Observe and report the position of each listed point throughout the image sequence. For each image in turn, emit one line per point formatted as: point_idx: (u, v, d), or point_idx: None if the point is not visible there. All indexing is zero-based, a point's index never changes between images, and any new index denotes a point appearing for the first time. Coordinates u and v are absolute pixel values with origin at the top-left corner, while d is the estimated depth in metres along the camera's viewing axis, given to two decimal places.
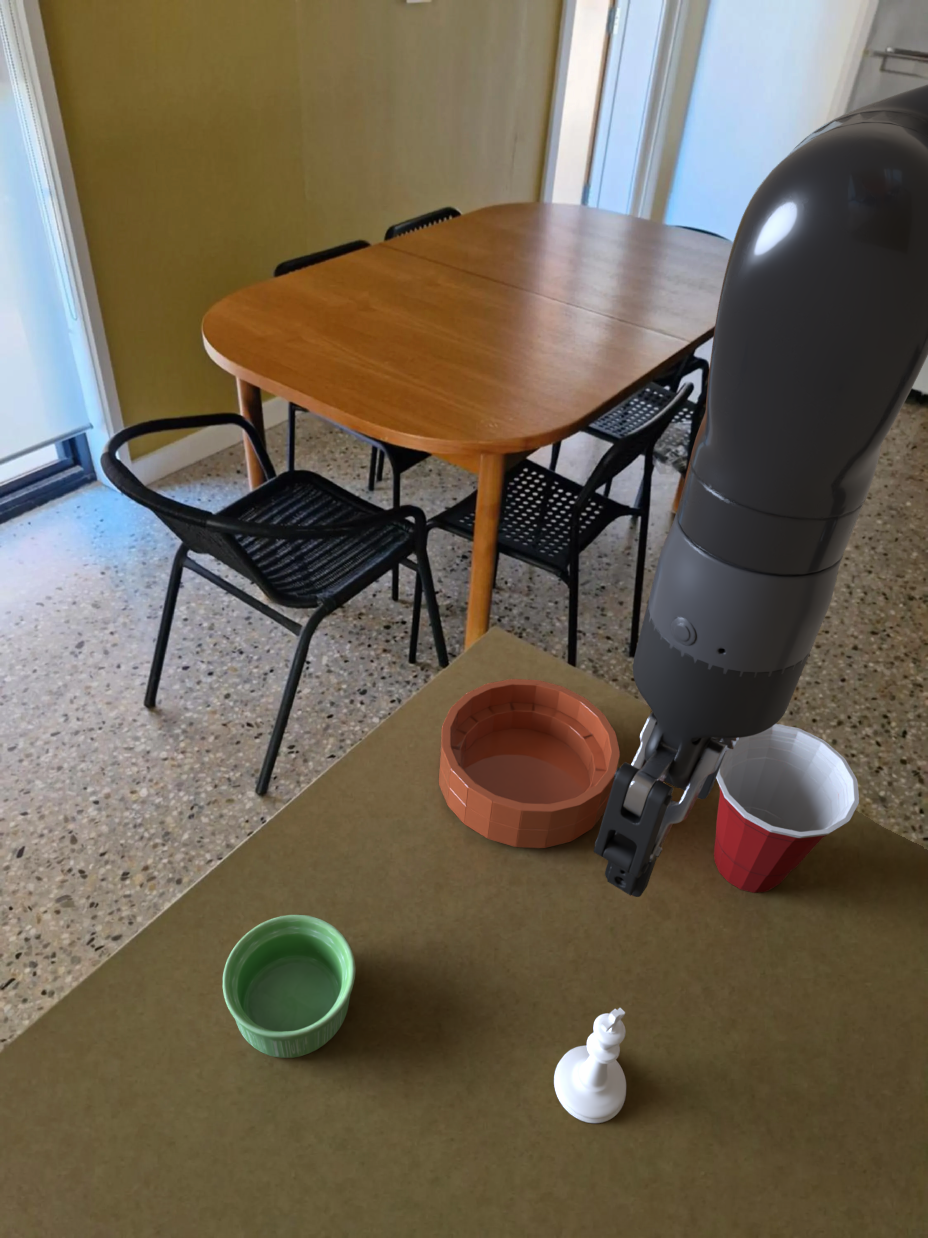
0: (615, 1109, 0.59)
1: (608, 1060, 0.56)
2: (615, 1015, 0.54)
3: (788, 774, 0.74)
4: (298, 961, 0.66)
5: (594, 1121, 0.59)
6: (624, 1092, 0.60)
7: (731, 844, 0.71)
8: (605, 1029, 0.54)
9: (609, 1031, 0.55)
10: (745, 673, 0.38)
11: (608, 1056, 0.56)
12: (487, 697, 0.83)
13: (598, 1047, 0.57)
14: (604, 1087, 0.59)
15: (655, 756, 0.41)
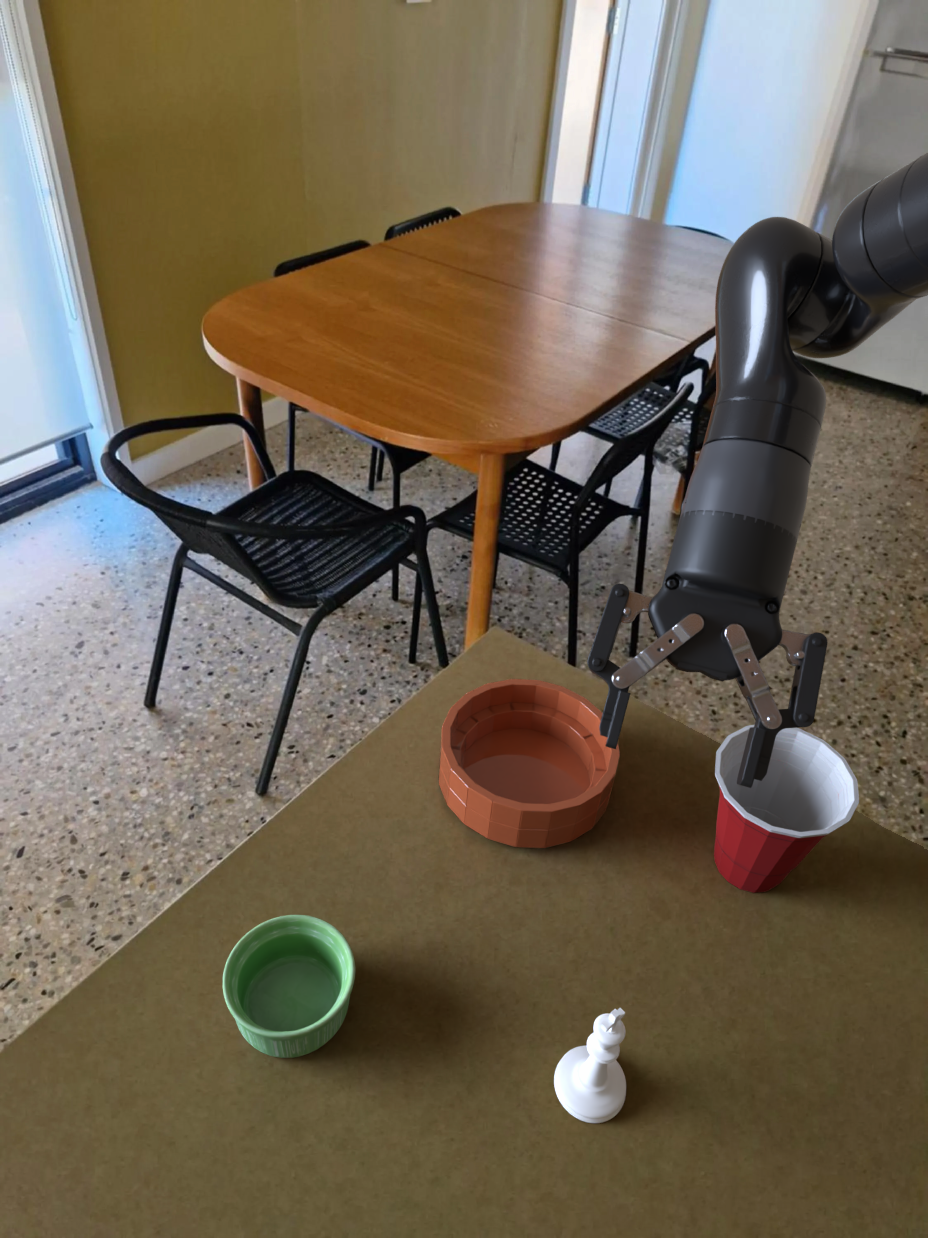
0: (615, 1109, 0.59)
1: (608, 1060, 0.56)
2: (615, 1015, 0.54)
3: (788, 774, 0.74)
4: (298, 961, 0.66)
5: (594, 1121, 0.59)
6: (624, 1092, 0.60)
7: (731, 844, 0.71)
8: (605, 1029, 0.54)
9: (609, 1031, 0.55)
10: (691, 512, 0.56)
11: (608, 1056, 0.56)
12: (487, 697, 0.83)
13: (598, 1047, 0.57)
14: (604, 1087, 0.59)
15: None
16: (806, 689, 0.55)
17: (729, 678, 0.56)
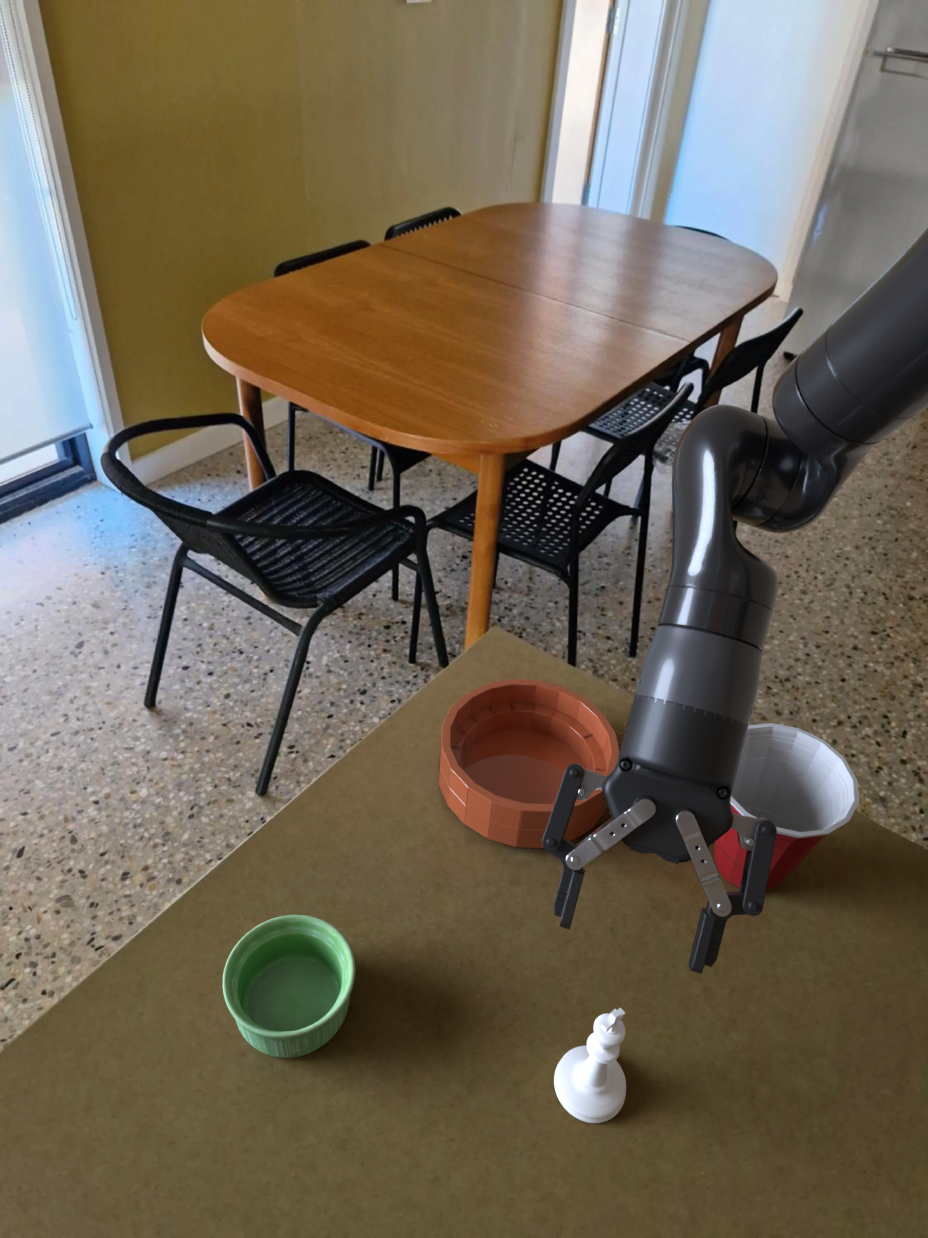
0: (615, 1109, 0.59)
1: (608, 1060, 0.56)
2: (615, 1015, 0.54)
3: (788, 774, 0.74)
4: (298, 961, 0.66)
5: (594, 1121, 0.59)
6: (624, 1092, 0.60)
7: (731, 844, 0.71)
8: (605, 1029, 0.54)
9: (609, 1031, 0.55)
10: (644, 697, 0.57)
11: (608, 1056, 0.56)
12: (487, 697, 0.83)
13: (598, 1047, 0.57)
14: (604, 1087, 0.59)
15: (601, 774, 0.59)
16: (755, 877, 0.55)
17: (681, 862, 0.57)
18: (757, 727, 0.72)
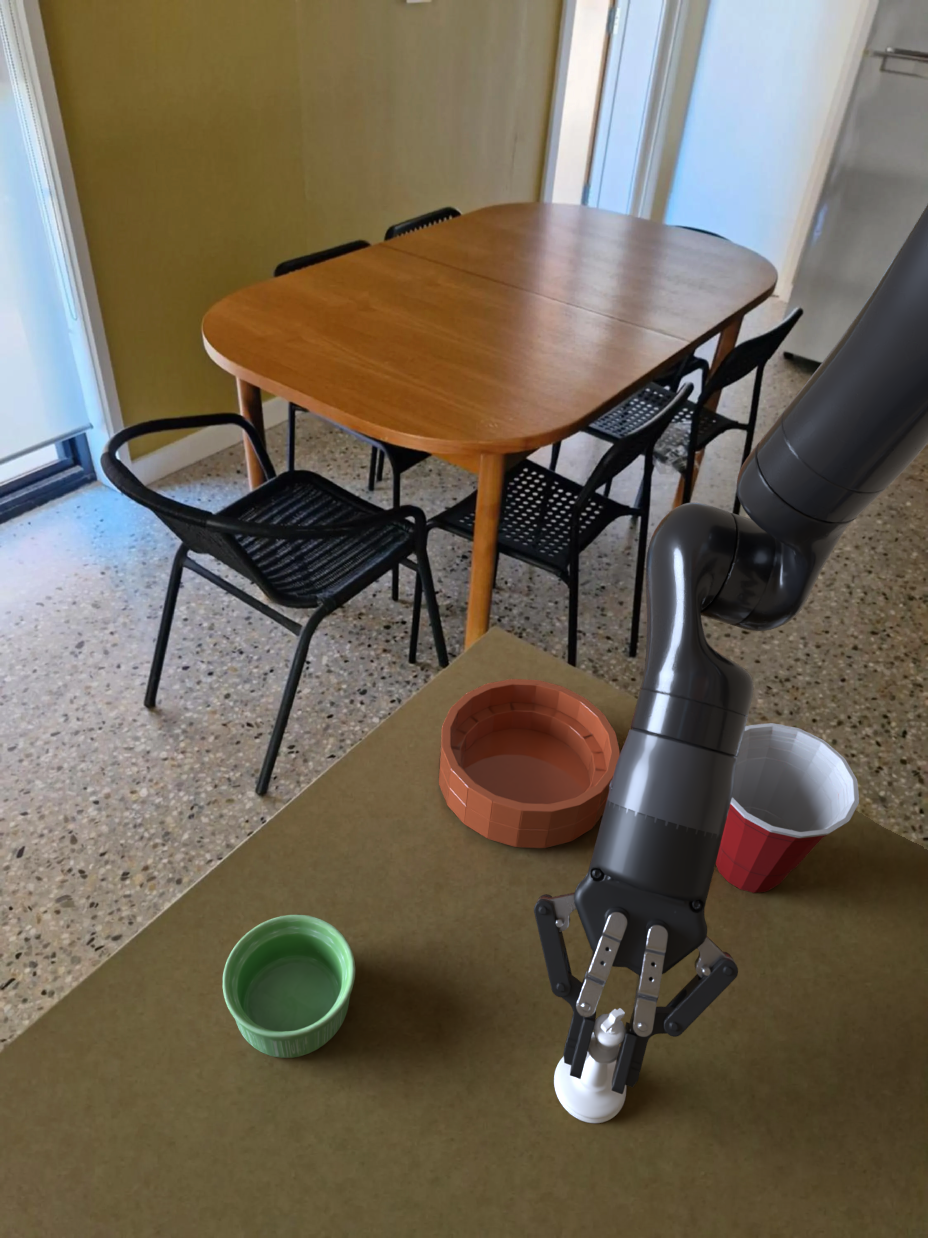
0: (615, 1109, 0.59)
1: (608, 1060, 0.56)
2: (615, 1015, 0.54)
3: (788, 774, 0.74)
4: (298, 961, 0.66)
5: (594, 1121, 0.59)
6: (624, 1092, 0.60)
7: (731, 844, 0.71)
8: (605, 1029, 0.54)
9: (609, 1031, 0.55)
10: (615, 805, 0.56)
11: (608, 1056, 0.56)
12: (487, 697, 0.83)
13: (598, 1047, 0.57)
14: (604, 1087, 0.59)
15: (568, 894, 0.58)
16: (691, 1004, 0.54)
17: None
18: (757, 727, 0.72)
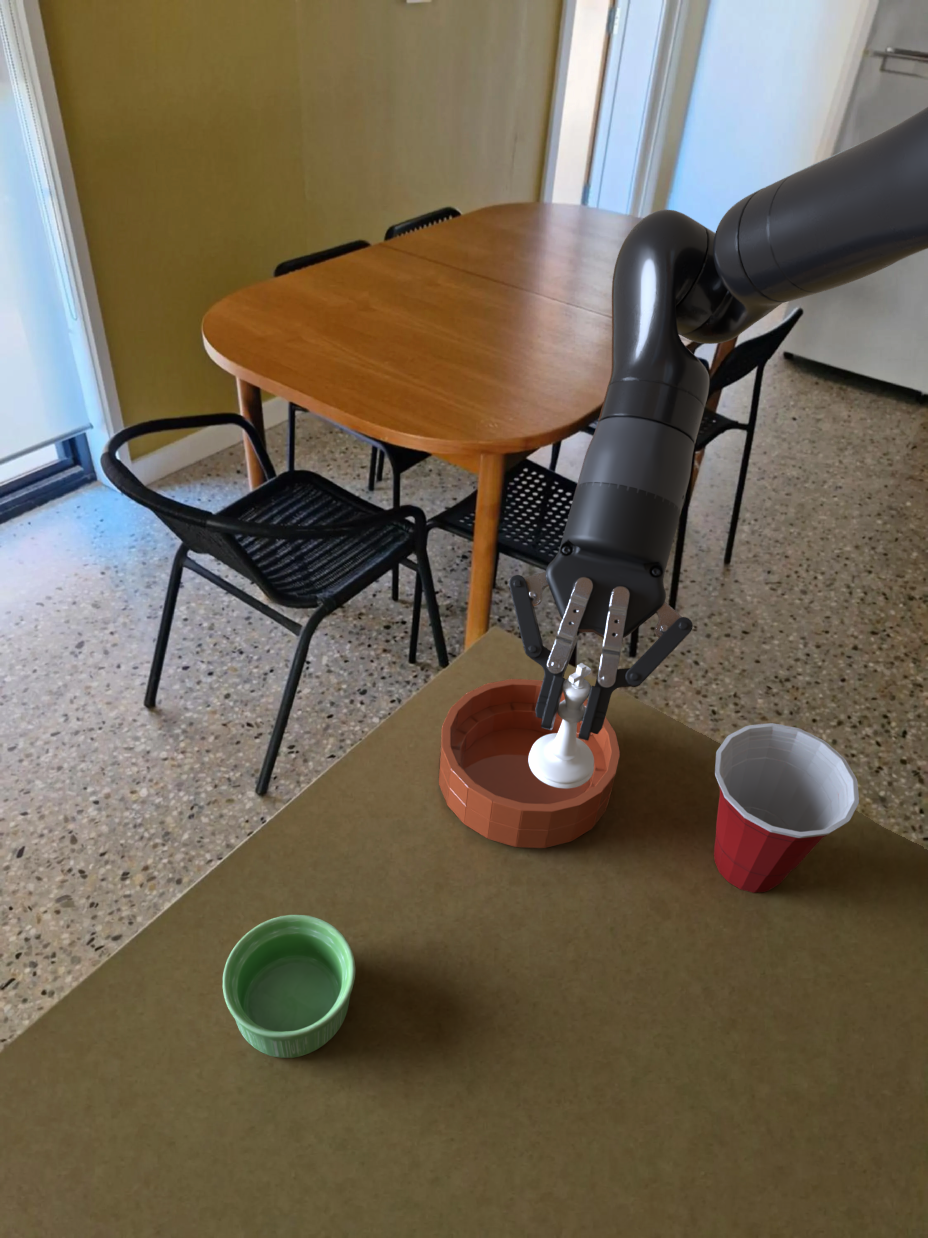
0: (583, 776, 0.65)
1: (576, 719, 0.62)
2: (581, 666, 0.60)
3: (788, 774, 0.74)
4: (298, 961, 0.66)
5: (564, 786, 0.65)
6: (592, 765, 0.66)
7: (731, 844, 0.71)
8: (572, 680, 0.60)
9: (576, 686, 0.61)
10: (583, 484, 0.61)
11: (576, 715, 0.62)
12: (487, 697, 0.83)
13: (567, 708, 0.62)
14: (573, 757, 0.65)
15: None
16: (650, 656, 0.60)
17: None
18: (757, 727, 0.72)
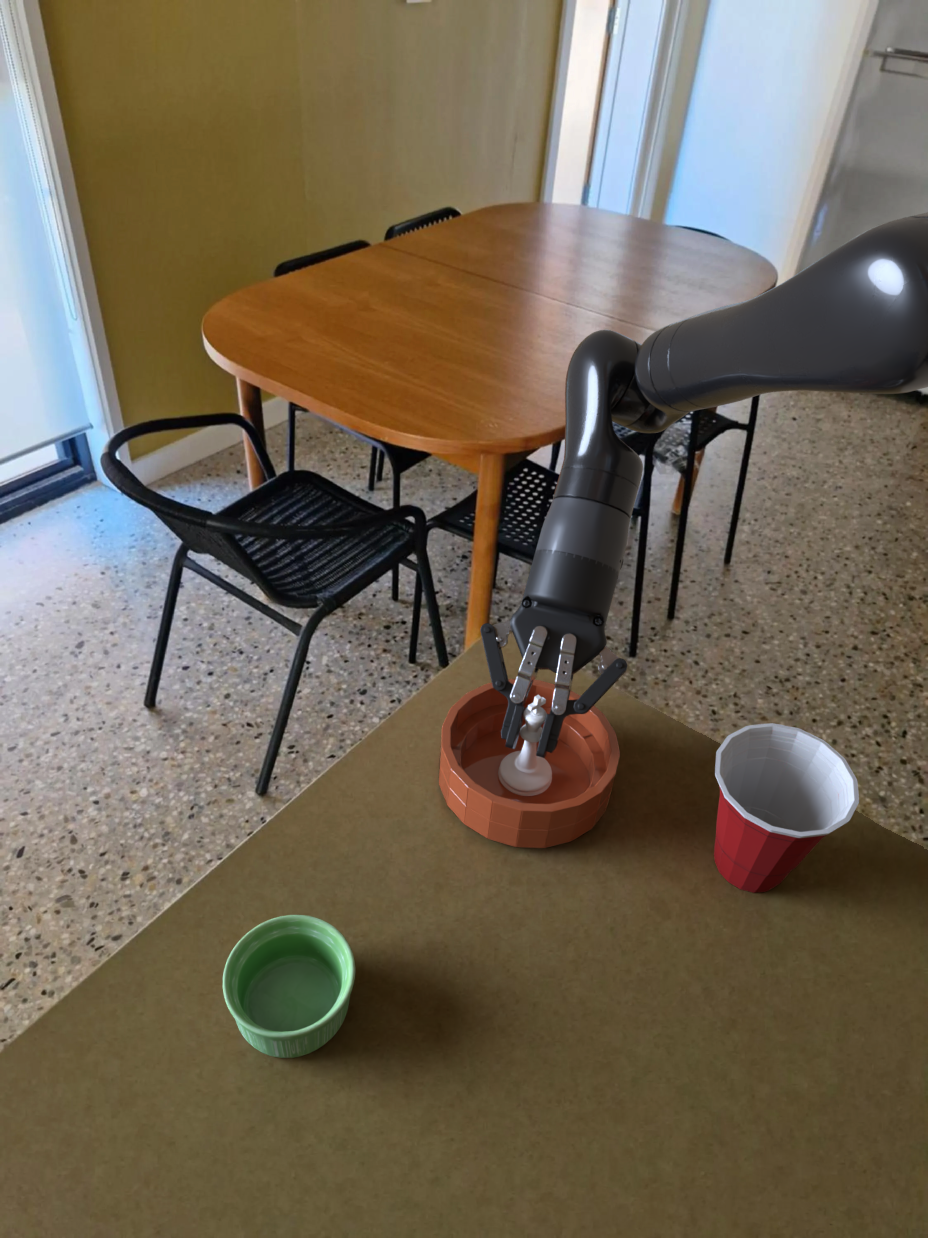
0: (542, 786, 0.79)
1: (534, 739, 0.77)
2: (538, 698, 0.75)
3: (788, 774, 0.74)
4: (298, 961, 0.66)
5: (526, 794, 0.79)
6: (550, 777, 0.80)
7: (731, 844, 0.71)
8: (530, 708, 0.75)
9: (534, 713, 0.76)
10: (539, 550, 0.76)
11: (535, 737, 0.77)
12: (487, 697, 0.83)
13: (527, 731, 0.77)
14: (534, 770, 0.79)
15: None
16: (593, 690, 0.75)
17: None
18: (757, 727, 0.72)
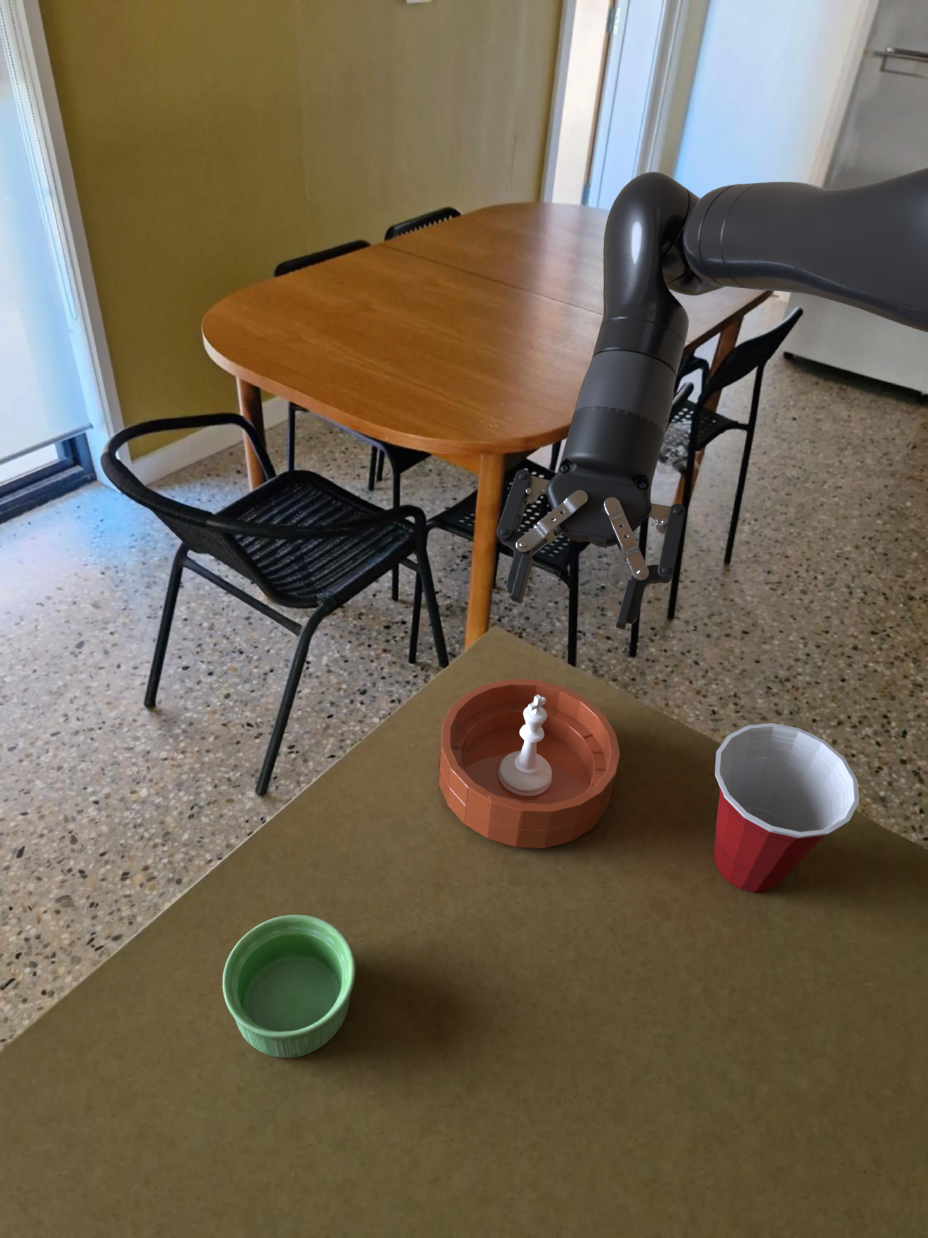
0: (542, 786, 0.79)
1: (535, 739, 0.77)
2: (538, 697, 0.75)
3: (788, 774, 0.74)
4: (298, 961, 0.66)
5: (526, 794, 0.79)
6: (550, 777, 0.80)
7: (731, 844, 0.71)
8: (530, 708, 0.75)
9: (534, 713, 0.76)
10: (578, 410, 0.70)
11: (535, 737, 0.77)
12: (487, 697, 0.83)
13: (527, 731, 0.77)
14: (534, 770, 0.79)
15: None
16: (668, 548, 0.68)
17: (609, 542, 0.70)
18: (757, 727, 0.72)
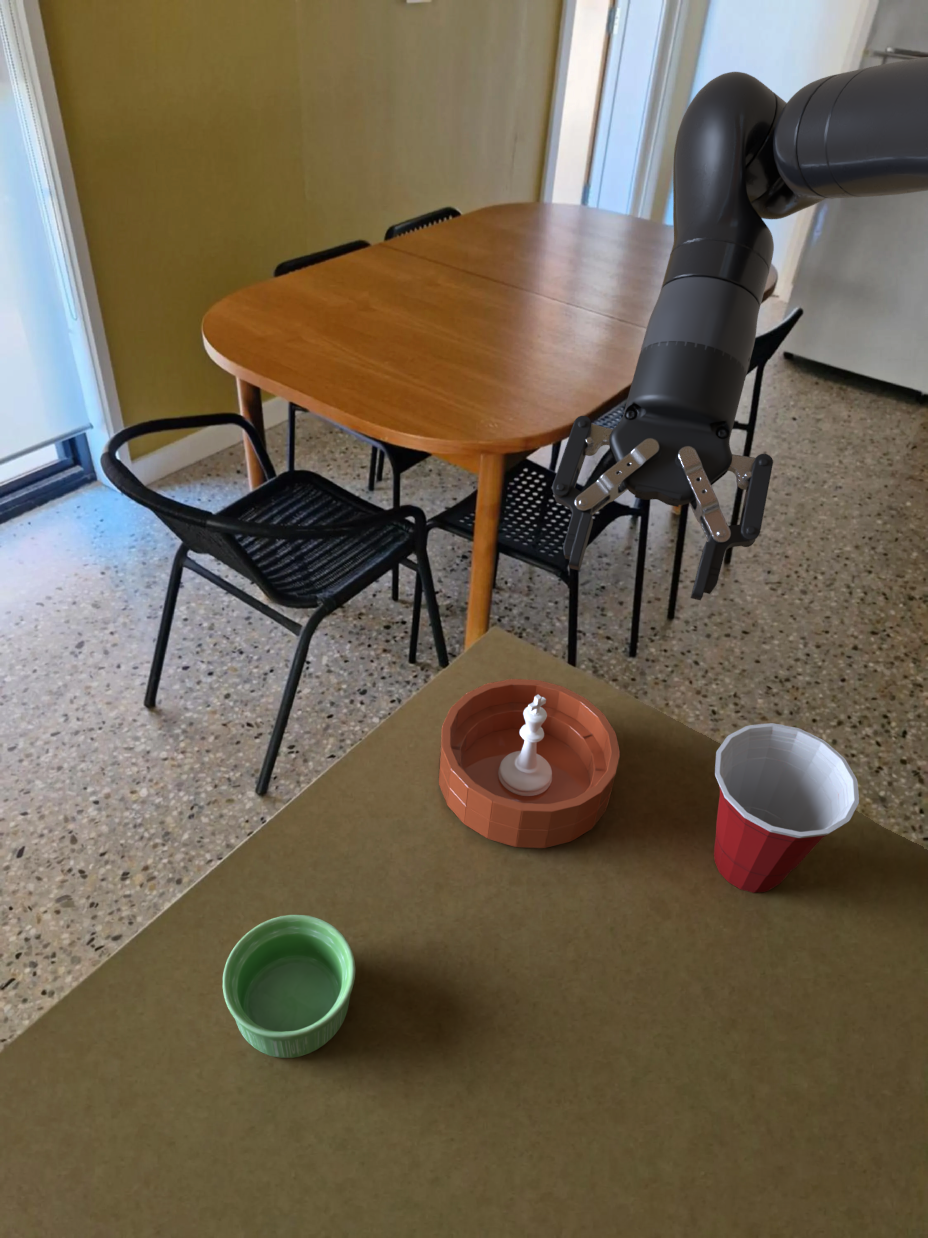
0: (542, 786, 0.79)
1: (535, 739, 0.77)
2: (538, 697, 0.75)
3: (788, 774, 0.74)
4: (298, 961, 0.66)
5: (526, 794, 0.79)
6: (550, 777, 0.80)
7: (731, 844, 0.71)
8: (530, 708, 0.75)
9: (534, 713, 0.76)
10: (648, 346, 0.61)
11: (535, 737, 0.77)
12: (487, 697, 0.83)
13: (527, 731, 0.77)
14: (534, 770, 0.79)
15: None
16: (753, 505, 0.59)
17: (683, 499, 0.61)
18: (757, 727, 0.72)
